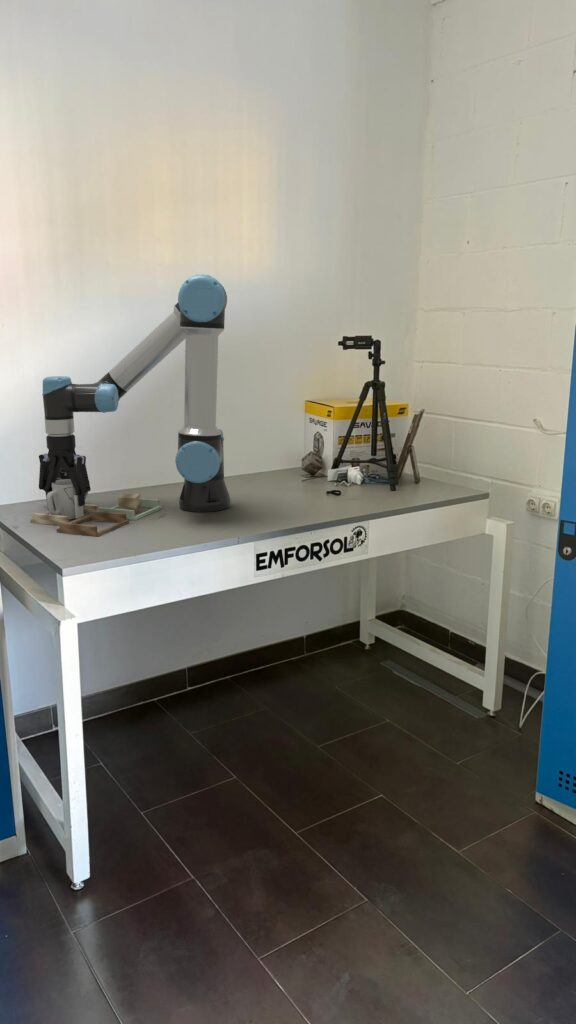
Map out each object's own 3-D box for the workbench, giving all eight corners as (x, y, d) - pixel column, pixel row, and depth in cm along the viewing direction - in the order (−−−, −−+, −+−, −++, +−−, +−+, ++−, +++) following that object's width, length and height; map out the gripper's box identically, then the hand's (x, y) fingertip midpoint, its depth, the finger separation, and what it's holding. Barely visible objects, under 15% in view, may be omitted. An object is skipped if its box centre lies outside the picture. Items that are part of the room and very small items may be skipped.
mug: (59, 524, 208) (57, 488, 205) (38, 520, 212) (36, 484, 210) (91, 516, 217) (89, 481, 215) (71, 512, 221) (68, 477, 219)
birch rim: (100, 514, 219) (100, 505, 218) (69, 526, 206) (69, 517, 205) (63, 510, 223) (62, 502, 223) (30, 522, 210) (29, 513, 209)
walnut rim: (129, 523, 209) (128, 514, 209) (98, 536, 196) (98, 527, 195) (89, 519, 213) (89, 510, 213) (57, 532, 200) (56, 522, 200)
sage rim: (161, 508, 226) (161, 500, 225) (135, 520, 212) (135, 511, 212) (124, 505, 230) (124, 496, 229) (96, 516, 217) (96, 507, 216)
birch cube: (140, 510, 223) (140, 493, 222) (136, 515, 218) (135, 497, 217) (124, 510, 224) (123, 493, 223) (118, 514, 219) (117, 497, 218)
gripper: (101, 434, 209) (106, 515, 214) (37, 430, 216) (44, 510, 221) (84, 437, 202) (90, 522, 207) (19, 434, 209) (26, 516, 214)
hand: (66, 515), depth 214 cm, fingers closed on mug, 8 cm apart
